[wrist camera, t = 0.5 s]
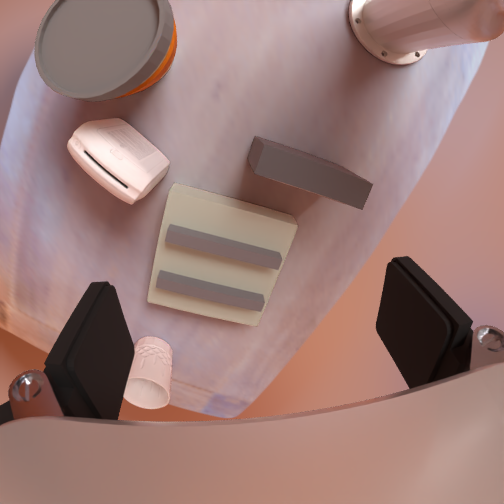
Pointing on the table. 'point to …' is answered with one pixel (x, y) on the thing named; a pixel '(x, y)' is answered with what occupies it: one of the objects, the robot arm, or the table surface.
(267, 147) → the thin grey panel
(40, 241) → the table surface
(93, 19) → the reusable coffee cup
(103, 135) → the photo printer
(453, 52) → the table surface
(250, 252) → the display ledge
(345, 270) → the table surface
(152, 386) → the white cup
